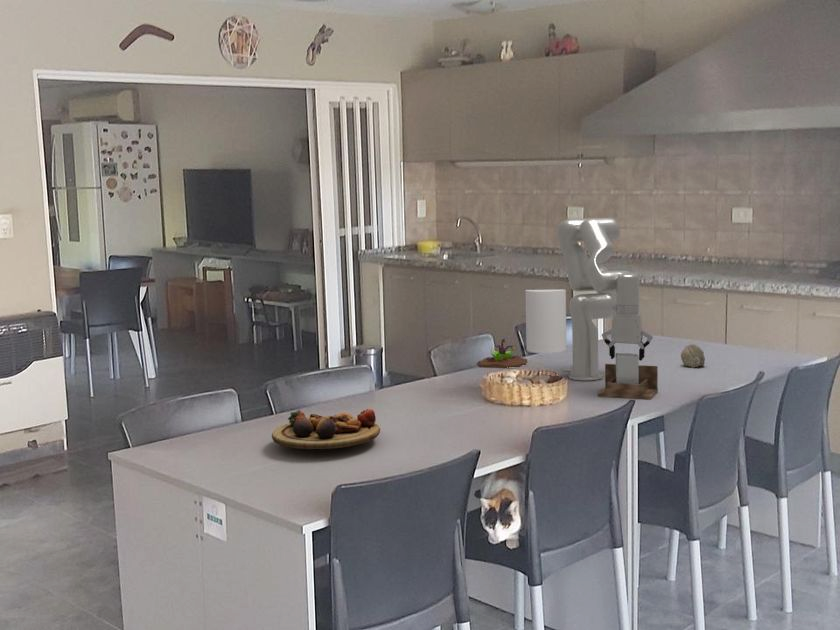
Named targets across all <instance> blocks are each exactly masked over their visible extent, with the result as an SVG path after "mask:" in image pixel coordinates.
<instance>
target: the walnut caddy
mask: <svg viewBox="0 0 840 630" xmlns="http://www.w3.org/2000/svg"><path fill="white" fill-rule="evenodd" d="M658 367H659V366H658V365H645V364H644V365H640V364H639V384H625V383H616V363H605V364H604V369H605V370H604V371H605V372H604V377H605V379H604V381H605V382H604V385H605V386H604V387H603V388H602V389H601V390H599V391H598V392H597V397H598V398H600V397H601V398H616V399H617V398H618V399H637V400H652V399H653V398H654V397H655V396H656V395H657V393H658V392H659V387H658V386H659V385H658V380H659V379H658V376H659V375H658V374H659V372H658Z"/></svg>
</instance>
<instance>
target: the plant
mask: <svg viewBox="0 0 840 630" xmlns="http://www.w3.org/2000/svg"><path fill="white" fill-rule="evenodd" d="M506 342H507V341H506V339H505V338H502V340H501V345H499V344H497V345H496V346H494V348H493V353H492V352H490V354H491V355H492V356H490V357H489V356H488V357H485V358H483V359H482V360H478V361H477V366H478V367H479V368H483V369H484V368H487V369H488V368H489V369H490V368H491V369H505V368H506V369H508V368H507V367H519V368H520V367H523V366H522V365H525V366H526V365H527V364H528V359H527V358H523V357H521V356H520V355H514V354H515V352H512V351H515V349H516V348H515V345H508V346H506V347H505V348H504V344H505V343H506ZM509 348H511V350H508V349H509Z"/></svg>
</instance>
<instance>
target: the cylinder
mask: <svg viewBox="0 0 840 630" xmlns="http://www.w3.org/2000/svg"><path fill="white" fill-rule="evenodd" d="M566 296H567V289H525V331H526V332H525V333H526V334H525V338H526V339H525V340H526V341H525V342H526V352H528V353H532V354H533V353H534V354H556V353H557V352H558V353H562V352H561V351H563V352H565V351H567V297H566ZM564 350H565V351H564ZM558 353H557V354H558Z"/></svg>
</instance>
